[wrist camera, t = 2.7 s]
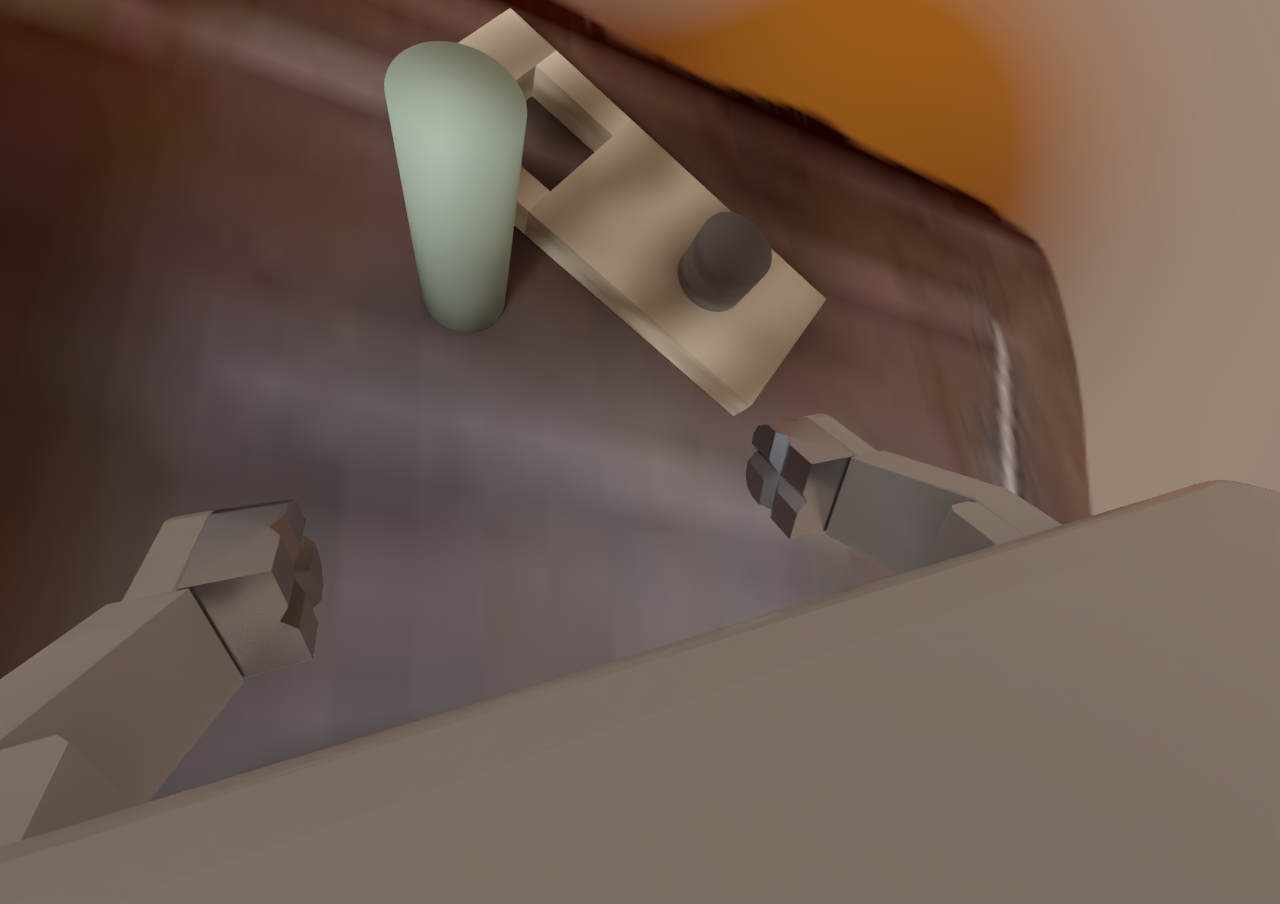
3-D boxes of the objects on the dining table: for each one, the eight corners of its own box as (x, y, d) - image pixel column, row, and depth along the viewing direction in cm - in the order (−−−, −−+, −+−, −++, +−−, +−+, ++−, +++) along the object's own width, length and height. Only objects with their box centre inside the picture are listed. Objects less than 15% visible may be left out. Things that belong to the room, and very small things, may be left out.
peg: (404, 294, 26) (351, 83, 15) (460, 246, 27) (452, 20, 16) (468, 348, 26) (465, 182, 15) (521, 297, 28) (553, 111, 16)
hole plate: (394, 121, 28) (378, 29, 23) (508, 42, 31) (514, -53, 26) (733, 416, 30) (781, 387, 25) (806, 314, 33) (861, 272, 28)
